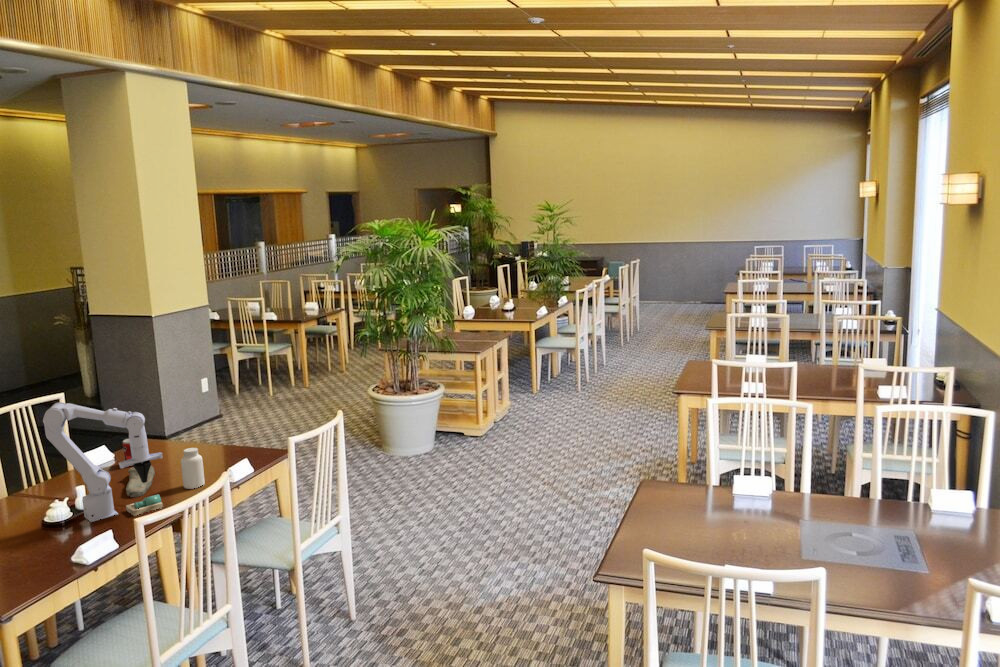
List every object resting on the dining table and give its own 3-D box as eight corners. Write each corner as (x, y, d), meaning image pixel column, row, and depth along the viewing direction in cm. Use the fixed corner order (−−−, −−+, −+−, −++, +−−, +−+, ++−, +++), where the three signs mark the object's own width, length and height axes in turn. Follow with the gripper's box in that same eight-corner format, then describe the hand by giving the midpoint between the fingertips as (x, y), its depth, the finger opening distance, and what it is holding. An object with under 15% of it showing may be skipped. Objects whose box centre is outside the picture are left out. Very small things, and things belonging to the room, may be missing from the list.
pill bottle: (200, 489, 303) (196, 452, 301) (180, 489, 303) (175, 453, 301) (208, 482, 311) (204, 446, 309) (188, 482, 311) (184, 446, 309)
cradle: (134, 516, 277) (133, 511, 277) (126, 510, 284) (125, 505, 283) (163, 508, 284) (162, 502, 284) (155, 502, 290) (154, 497, 290)
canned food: (131, 461, 344) (127, 437, 343) (148, 460, 344) (145, 436, 342) (122, 467, 337) (118, 442, 335) (140, 466, 336) (136, 442, 335)
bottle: (162, 503, 286) (138, 510, 281) (159, 505, 289) (135, 512, 284) (159, 493, 287) (135, 499, 281) (156, 495, 290) (132, 501, 284)
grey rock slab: (121, 503, 296) (150, 500, 299) (120, 490, 295) (149, 487, 298) (131, 471, 328) (157, 469, 332) (130, 460, 327) (156, 457, 331)
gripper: (155, 439, 288) (160, 474, 291) (114, 449, 279) (119, 485, 281) (162, 442, 283) (167, 478, 285) (120, 452, 274) (126, 489, 276)
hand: (144, 481), depth 283 cm, fingers closed
